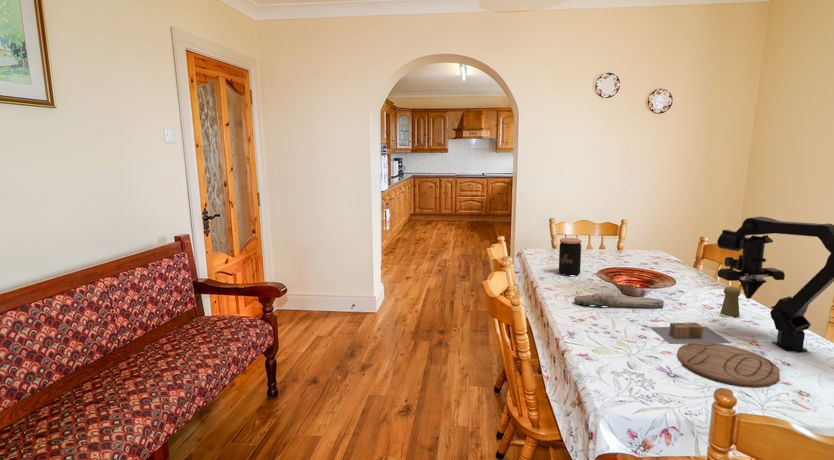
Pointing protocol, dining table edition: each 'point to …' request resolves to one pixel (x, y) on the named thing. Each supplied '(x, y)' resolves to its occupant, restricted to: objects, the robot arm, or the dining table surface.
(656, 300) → the long grey stone
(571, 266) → the coffee jar
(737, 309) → the cork
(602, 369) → the dining table surface
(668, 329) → the rubber mat
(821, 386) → the dining table surface
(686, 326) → the walnut block
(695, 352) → the trivet
